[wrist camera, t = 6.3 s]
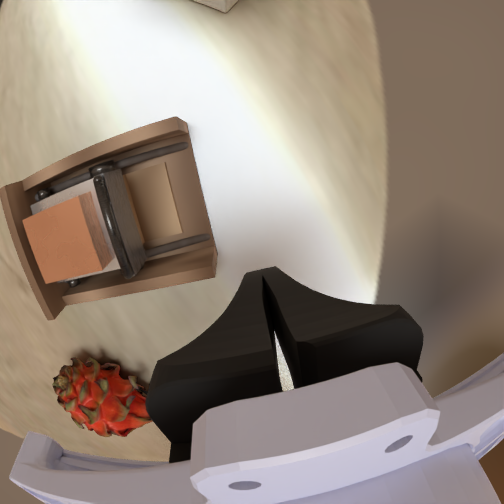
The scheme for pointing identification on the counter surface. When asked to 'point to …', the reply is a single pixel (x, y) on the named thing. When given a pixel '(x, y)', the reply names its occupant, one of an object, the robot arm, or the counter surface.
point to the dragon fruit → (101, 398)
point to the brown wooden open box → (143, 207)
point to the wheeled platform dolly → (86, 229)
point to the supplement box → (218, 4)
